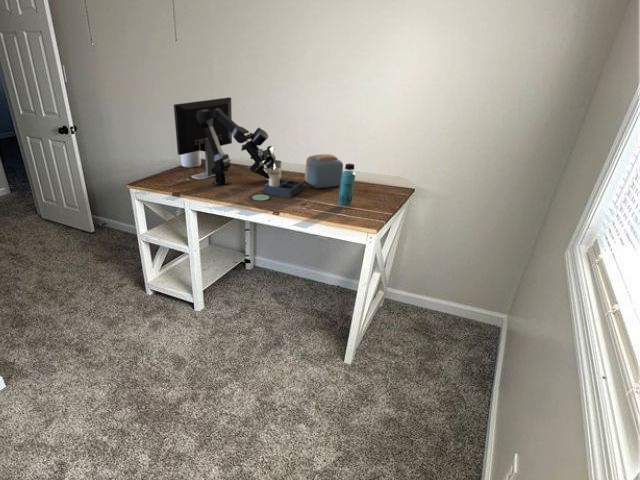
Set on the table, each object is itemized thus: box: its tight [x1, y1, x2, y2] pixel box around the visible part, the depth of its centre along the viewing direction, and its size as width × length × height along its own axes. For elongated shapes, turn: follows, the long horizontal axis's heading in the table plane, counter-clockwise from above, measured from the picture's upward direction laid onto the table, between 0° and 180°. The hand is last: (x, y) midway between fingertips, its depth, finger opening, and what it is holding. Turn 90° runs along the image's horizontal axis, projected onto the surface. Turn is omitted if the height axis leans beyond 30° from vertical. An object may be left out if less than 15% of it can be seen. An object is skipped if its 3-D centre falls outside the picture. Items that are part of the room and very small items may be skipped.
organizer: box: [263, 177, 304, 199], centre depth 219 cm, size 15×15×4 cm
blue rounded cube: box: [304, 153, 344, 190], centre depth 227 cm, size 16×16×16 cm
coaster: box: [251, 194, 270, 201], centre depth 212 cm, size 9×9×1 cm
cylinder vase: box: [180, 151, 202, 169], centre depth 261 cm, size 12×12×25 cm
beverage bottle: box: [337, 163, 357, 207], centre depth 195 cm, size 6×7×20 cm
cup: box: [265, 159, 283, 181], centre depth 237 cm, size 8×8×10 cm
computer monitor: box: [173, 96, 233, 180], centre depth 238 cm, size 41×8×40 cm, turn 136°
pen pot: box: [268, 167, 280, 187], centre depth 216 cm, size 6×6×12 cm
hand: (273, 176), depth 215 cm, fingers open, 9 cm apart
